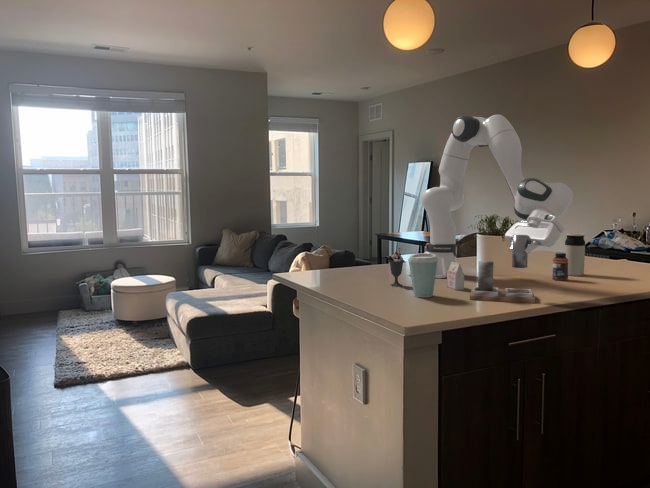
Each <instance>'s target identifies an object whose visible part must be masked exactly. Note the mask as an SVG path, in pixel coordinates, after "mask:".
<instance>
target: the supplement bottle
mask: <svg viewBox="0 0 650 488" xmlns="http://www.w3.org/2000/svg"><path fill="white" fill-rule="evenodd" d="M552 280H554V281H559V282H562V281H563V282H564V281H565V282H566V281H567V280H569V275H568V259H567V258H566V253H565V252H561V251H559V252H555V255H554V257H553V258H552Z"/></svg>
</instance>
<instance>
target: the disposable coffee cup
mask: <svg viewBox="0 0 650 488" xmlns="http://www.w3.org/2000/svg"><path fill="white" fill-rule="evenodd" d="M407 261H408V265H409V270H410V273H411V276H410V279H411V283H412V291H413V294H414V296H415V297H417V298H431V297H433V295H434V290H435V289H434V288H435V282H436V278H435V275H436V268H437V261H438V258H437V257H436V255H435V254H429V253H424V252H423V253H415V254H411V255H410V256H409V258H408V259H407Z"/></svg>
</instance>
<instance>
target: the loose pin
mask: <svg viewBox="0 0 650 488" xmlns="http://www.w3.org/2000/svg"><path fill="white" fill-rule="evenodd" d="M511 245H512V251H511V267H512V268H515V269H526V268H528V255H529V254H526V253H524V252H523V249H524V248H525V247H528V246H529V244H528V235H513V240H512V242H511Z"/></svg>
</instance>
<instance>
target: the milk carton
mask: <svg viewBox="0 0 650 488" xmlns="http://www.w3.org/2000/svg"><path fill="white" fill-rule="evenodd" d="M446 288H448V289H451V290H454V291H462V290H463V291H464V289H465V273H464V271H463V269H462V266H461V263H459V262H457V263H455V262H451V264H450V266H449V269H448V271H447V277H446Z"/></svg>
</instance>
